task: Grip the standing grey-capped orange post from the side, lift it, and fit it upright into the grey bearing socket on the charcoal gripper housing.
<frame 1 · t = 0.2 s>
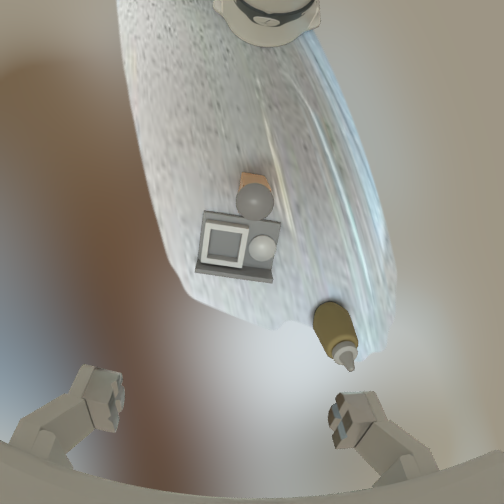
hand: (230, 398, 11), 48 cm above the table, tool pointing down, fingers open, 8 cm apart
housing: (224, 240, 59), on the table
squeeze bottle: (327, 312, 67), on the table
grey-capped orange post: (251, 184, 55), on the table
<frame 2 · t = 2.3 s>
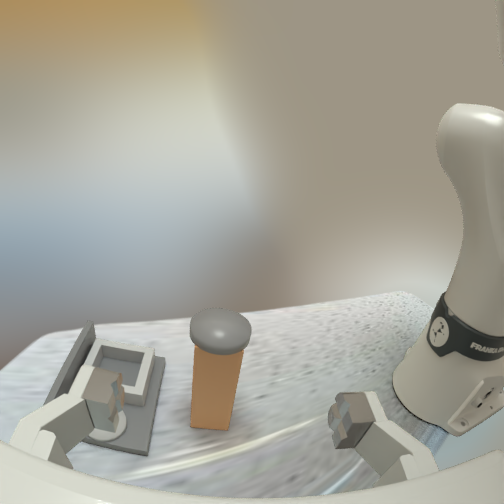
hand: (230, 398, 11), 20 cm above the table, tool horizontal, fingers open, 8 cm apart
housing: (119, 381, 33), on the table
grey-capped orange post: (209, 414, 32), on the table
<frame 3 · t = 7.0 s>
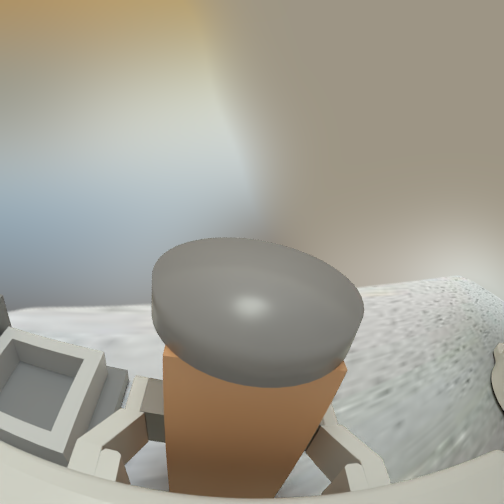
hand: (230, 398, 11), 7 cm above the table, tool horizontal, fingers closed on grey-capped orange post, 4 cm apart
housing: (40, 411, 14), on the table
grey-capped orange post: (213, 492, 13), on the table, touching gripper
when the fingers open (9 cm above the table, at t = 11.5 s): grey-capped orange post stays where it is, resting on housing.
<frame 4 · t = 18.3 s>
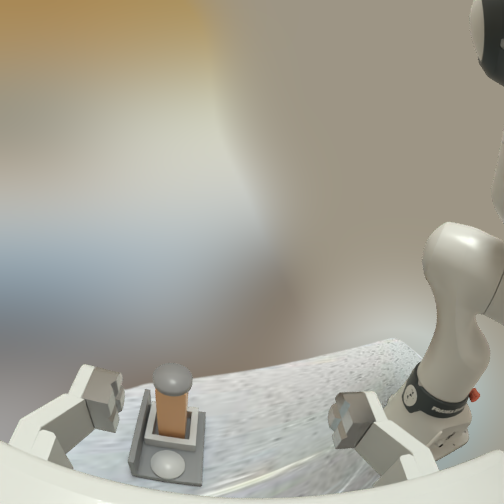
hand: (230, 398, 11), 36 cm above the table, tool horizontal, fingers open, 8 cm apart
housing: (172, 432, 44), on the table
grey-capped orange post: (173, 429, 43), point 1 cm above the table, touching housing
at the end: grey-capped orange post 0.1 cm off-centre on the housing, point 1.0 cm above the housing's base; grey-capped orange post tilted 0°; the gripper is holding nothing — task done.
